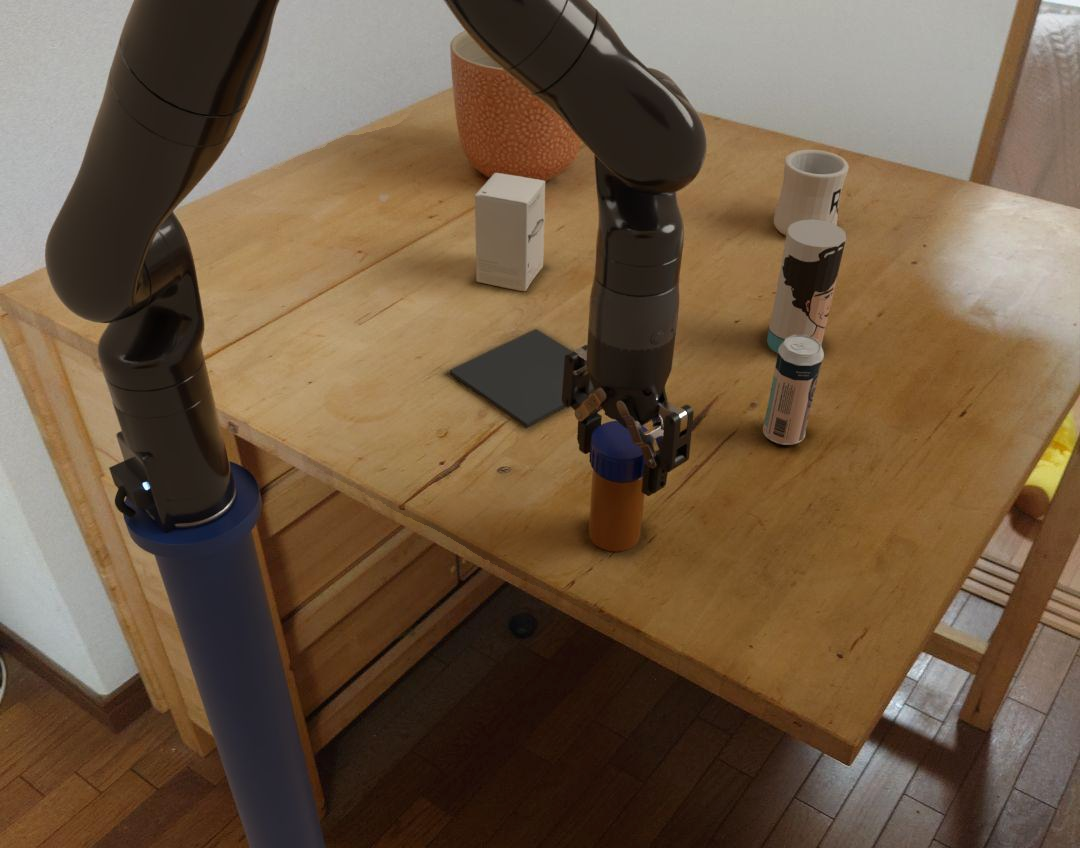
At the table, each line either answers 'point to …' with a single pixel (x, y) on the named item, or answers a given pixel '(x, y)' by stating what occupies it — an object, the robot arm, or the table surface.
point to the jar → (615, 513)
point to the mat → (520, 377)
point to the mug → (810, 188)
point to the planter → (505, 119)
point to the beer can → (793, 389)
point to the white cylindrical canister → (806, 281)
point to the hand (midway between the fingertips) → (619, 469)
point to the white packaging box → (509, 231)
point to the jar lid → (616, 453)
